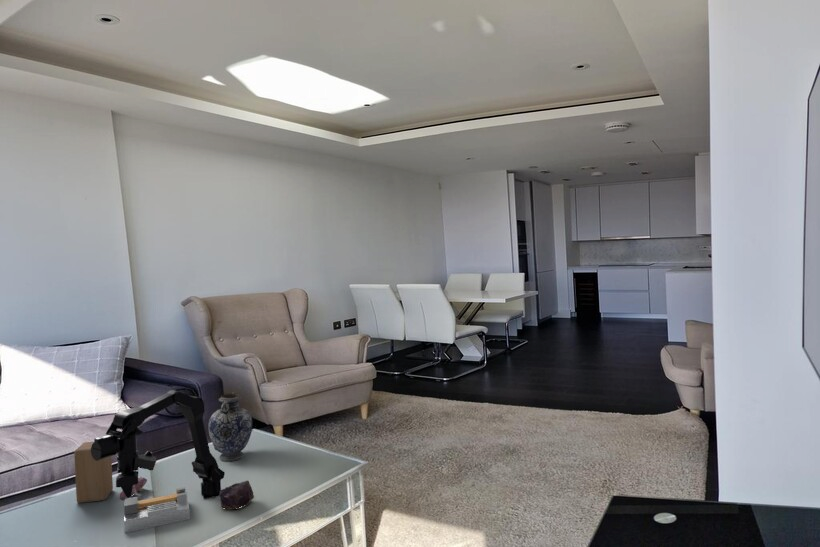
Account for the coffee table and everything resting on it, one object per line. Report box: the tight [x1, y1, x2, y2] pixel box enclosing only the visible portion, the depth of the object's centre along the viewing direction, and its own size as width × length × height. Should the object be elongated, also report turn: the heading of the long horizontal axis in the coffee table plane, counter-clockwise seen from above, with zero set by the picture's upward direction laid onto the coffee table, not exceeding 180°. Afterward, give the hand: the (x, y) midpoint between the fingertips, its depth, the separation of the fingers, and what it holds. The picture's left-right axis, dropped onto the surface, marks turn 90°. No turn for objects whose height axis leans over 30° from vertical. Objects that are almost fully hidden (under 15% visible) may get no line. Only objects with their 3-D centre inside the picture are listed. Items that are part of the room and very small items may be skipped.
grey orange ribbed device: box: [123, 487, 191, 534], centre depth 194 cm, size 20×14×7 cm
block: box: [73, 441, 114, 504], centre depth 211 cm, size 10×10×20 cm
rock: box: [219, 480, 255, 510], centre depth 200 cm, size 12×9×10 cm
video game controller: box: [119, 476, 148, 499], centre depth 213 cm, size 10×5×7 cm, turn 169°
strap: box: [138, 492, 182, 507], centre depth 195 cm, size 19×3×1 cm, turn 115°
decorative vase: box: [208, 391, 253, 463], centre depth 248 cm, size 21×19×28 cm
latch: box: [123, 496, 139, 516], centre depth 190 cm, size 4×6×3 cm, turn 25°
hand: (128, 497), depth 182 cm, fingers closed
